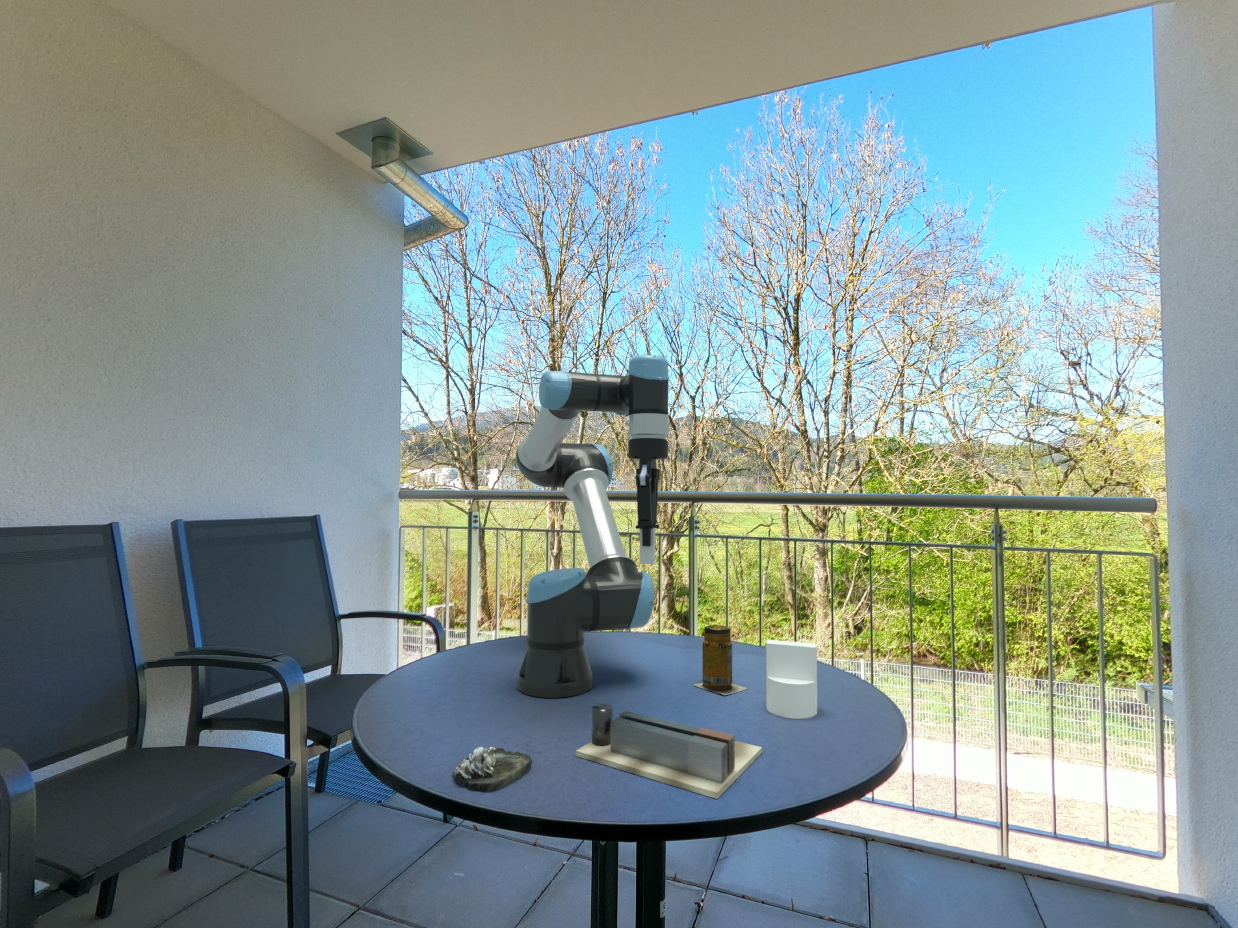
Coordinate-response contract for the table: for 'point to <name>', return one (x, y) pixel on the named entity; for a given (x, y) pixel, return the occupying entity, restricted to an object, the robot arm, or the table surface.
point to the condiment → (718, 661)
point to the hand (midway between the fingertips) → (647, 563)
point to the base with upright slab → (791, 679)
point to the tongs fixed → (660, 745)
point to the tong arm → (688, 733)
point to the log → (491, 769)
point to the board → (603, 755)
